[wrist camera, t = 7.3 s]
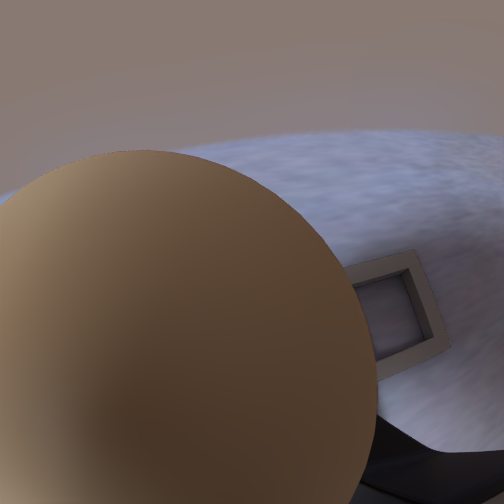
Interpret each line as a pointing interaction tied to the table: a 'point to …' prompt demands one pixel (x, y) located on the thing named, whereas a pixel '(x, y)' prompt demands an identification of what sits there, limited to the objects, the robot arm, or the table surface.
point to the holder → (420, 300)
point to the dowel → (176, 342)
